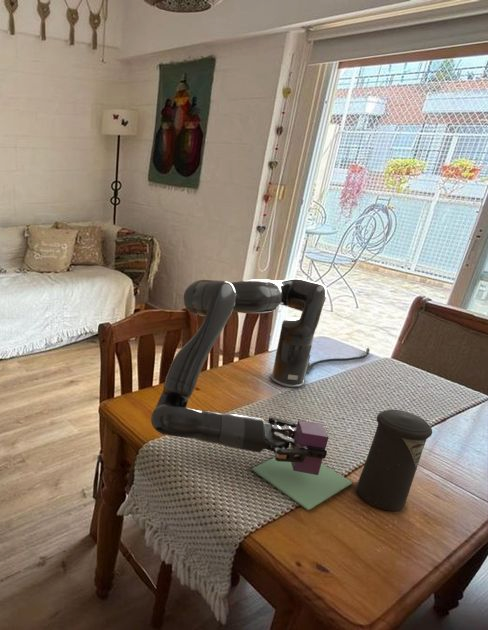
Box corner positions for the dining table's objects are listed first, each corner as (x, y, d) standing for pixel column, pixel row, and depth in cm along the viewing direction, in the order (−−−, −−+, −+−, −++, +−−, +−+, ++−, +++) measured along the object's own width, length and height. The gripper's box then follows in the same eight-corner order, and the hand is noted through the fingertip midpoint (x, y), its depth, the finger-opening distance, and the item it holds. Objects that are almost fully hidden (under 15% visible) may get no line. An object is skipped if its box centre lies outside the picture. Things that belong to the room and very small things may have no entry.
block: (289, 456, 101) (298, 419, 98) (312, 460, 100) (322, 423, 96) (293, 470, 97) (302, 432, 93) (318, 475, 95) (328, 437, 92)
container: (406, 519, 88) (437, 436, 81) (354, 501, 93) (379, 421, 85) (403, 492, 95) (431, 414, 88) (354, 477, 99) (377, 401, 92)
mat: (295, 448, 109) (295, 447, 109) (352, 484, 97) (352, 482, 97) (251, 469, 101) (251, 468, 101) (308, 510, 90) (308, 509, 90)
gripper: (245, 436, 92) (335, 452, 88) (239, 401, 105) (318, 413, 101) (240, 465, 95) (327, 481, 90) (235, 427, 107) (311, 440, 103)
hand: (322, 445), depth 95 cm, fingers closed on block, 5 cm apart
